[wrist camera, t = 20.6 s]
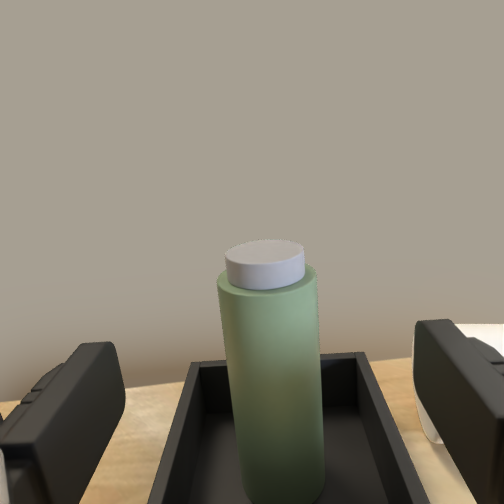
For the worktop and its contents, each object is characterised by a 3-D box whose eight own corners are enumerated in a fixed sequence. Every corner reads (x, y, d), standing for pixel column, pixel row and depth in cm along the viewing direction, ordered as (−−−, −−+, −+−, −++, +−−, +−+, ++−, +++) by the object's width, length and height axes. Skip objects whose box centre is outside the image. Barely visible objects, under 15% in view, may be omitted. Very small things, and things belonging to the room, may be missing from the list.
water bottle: (319, 441, 28) (309, 233, 23) (331, 512, 23) (322, 263, 18) (243, 445, 28) (219, 240, 24) (239, 516, 23) (206, 271, 18)
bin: (364, 404, 32) (364, 351, 30) (431, 594, 19) (437, 518, 18) (199, 413, 33) (190, 361, 31) (156, 601, 20) (138, 529, 18)
